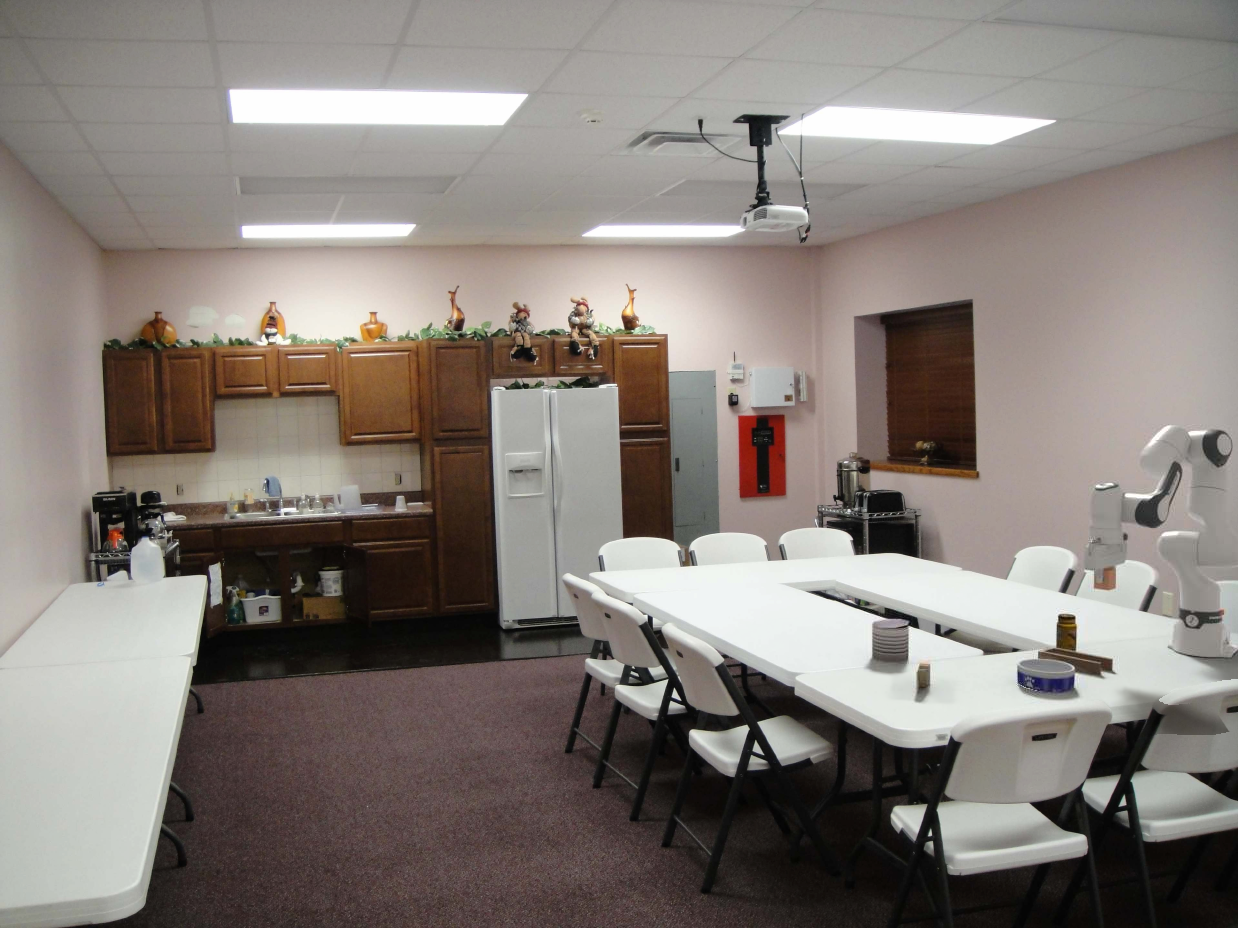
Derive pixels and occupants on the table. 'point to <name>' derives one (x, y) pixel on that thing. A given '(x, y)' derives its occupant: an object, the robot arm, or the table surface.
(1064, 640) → the condiment
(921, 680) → the model
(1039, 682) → the dog bowl
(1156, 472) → the robot arm
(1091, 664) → the channel
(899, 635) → the can
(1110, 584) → the block
